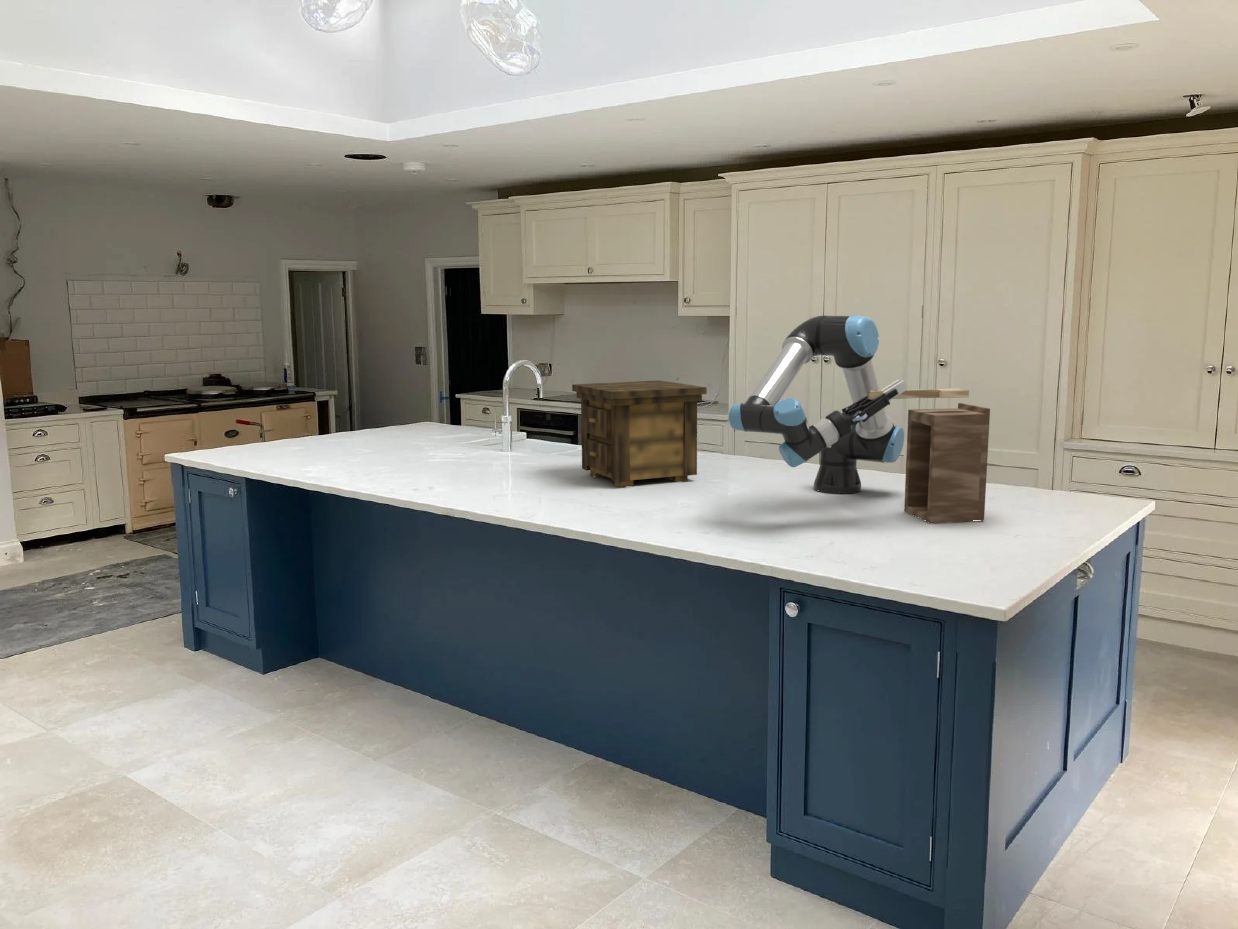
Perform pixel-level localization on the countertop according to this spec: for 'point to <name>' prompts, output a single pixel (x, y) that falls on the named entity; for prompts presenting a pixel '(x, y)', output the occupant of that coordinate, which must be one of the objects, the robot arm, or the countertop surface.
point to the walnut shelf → (947, 463)
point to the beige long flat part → (925, 393)
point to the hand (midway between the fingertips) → (902, 384)
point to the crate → (639, 429)
